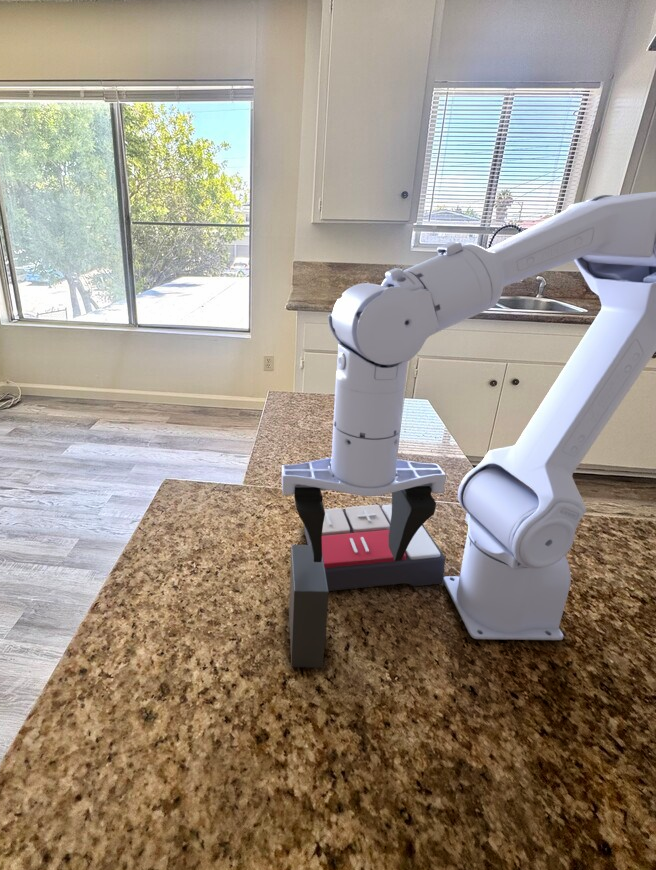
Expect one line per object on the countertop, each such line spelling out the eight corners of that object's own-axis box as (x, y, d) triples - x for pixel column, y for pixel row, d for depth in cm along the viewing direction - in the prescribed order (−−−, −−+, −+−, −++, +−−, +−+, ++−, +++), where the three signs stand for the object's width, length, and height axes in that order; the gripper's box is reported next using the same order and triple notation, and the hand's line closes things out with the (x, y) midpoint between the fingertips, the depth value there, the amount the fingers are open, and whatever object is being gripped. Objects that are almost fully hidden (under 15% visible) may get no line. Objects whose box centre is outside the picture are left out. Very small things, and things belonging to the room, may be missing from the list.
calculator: (303, 507, 57) (409, 497, 59) (303, 533, 59) (407, 523, 60) (319, 566, 47) (447, 553, 48) (319, 596, 48) (444, 583, 49)
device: (317, 613, 45) (322, 544, 43) (324, 668, 40) (329, 591, 37) (288, 613, 45) (291, 544, 43) (291, 667, 40) (294, 591, 37)
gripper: (430, 407, 40) (414, 525, 44) (280, 407, 40) (278, 527, 44) (464, 440, 34) (443, 576, 38) (285, 441, 33) (282, 579, 37)
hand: (355, 554), depth 40 cm, fingers open, 7 cm apart
